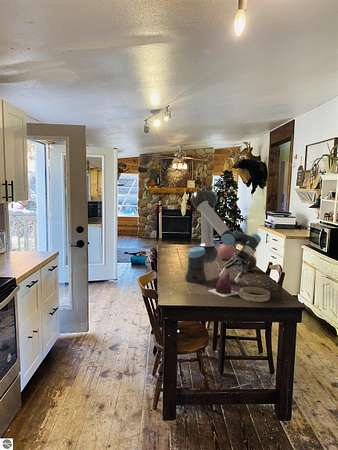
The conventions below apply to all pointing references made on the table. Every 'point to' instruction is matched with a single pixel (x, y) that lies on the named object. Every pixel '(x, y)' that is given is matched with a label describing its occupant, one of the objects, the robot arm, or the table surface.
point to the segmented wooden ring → (257, 298)
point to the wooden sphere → (251, 262)
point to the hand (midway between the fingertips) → (227, 279)
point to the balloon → (226, 251)
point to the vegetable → (224, 284)
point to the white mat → (223, 294)
